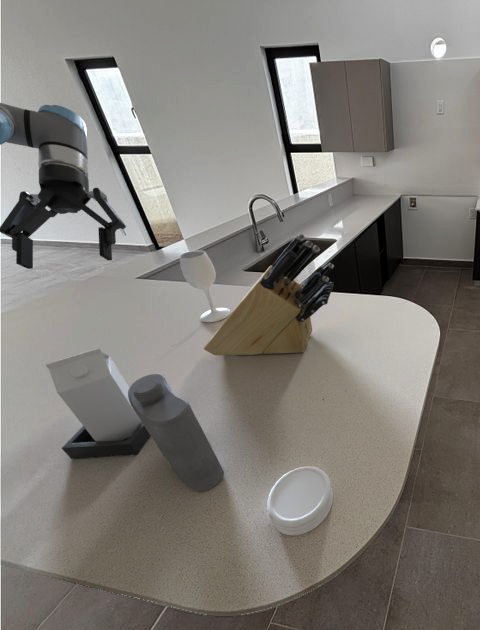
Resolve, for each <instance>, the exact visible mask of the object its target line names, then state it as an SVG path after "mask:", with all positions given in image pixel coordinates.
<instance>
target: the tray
mask: <svg viewBox="0 0 480 630" xmlns="http://www.w3.org/2000/svg"><path fill="white" fill-rule="evenodd" d="M151 438H152V437H151V436H150V434H149V433H148V431H147V429H146V428H145V426H144V425H143V423H141V424H140V425H139V426H138V428H137V429H136V430H135V431H134V433H133V434H132V435H131V436H130V437H129V438H126V439H124V440H119V441H103V442H96V441H95V440H94V439H93V437H92V436H91V435H90V434H89V432H88V431H87V430H86V429H85V427H84V426H83V425H82V427H80V428H79V429H78V431H76V433H74V434H73V436H72V437H70V439H69V440H67V442H66V443H64V445H63V446H62V447H61V450H63V452H64V453H65V454H66V455H67V457H69V459H70V460H79V459H93V458H94V459H95V458H110V457H129V456H138V455H139V453H140V452H141V451H142V449H143V448H144V447H145V445H146V444H147V442H149V440H150V439H151Z"/></svg>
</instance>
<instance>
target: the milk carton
mask: <svg viewBox="0 0 480 630" xmlns="http://www.w3.org/2000/svg"><path fill="white" fill-rule="evenodd" d="M45 366H46V368H47V369H48V370H49V374H50V377H51V379H52V382H53V386H54V388H55V391H56V393H57V394H58V395H59V397H60V398H61V399H62V401H63V402H64V403H65V405H66V406H67V407H68V408H69V410H70V411H71V412H72V413H73V415H74V416H75V418H76V419H77V420H78V421H79V422H80V424H81V425H82V427H83V426H84V427H85V429H86V430H87V431H88V432H89V434H90V435H91V436H92V437H93V439H94V440H95V441H96V442H103V441H119V440H124V439H126V438H129V437H130V436H131V435H132V434H133V433H134V431H135V430H136V429H137V428H138V426H139V425H140V424H141V423H142V422H141V420H140V419H139V417H138V416H137V414H136V412H135V411H134V409H133V408H132V406H131V404H130V402H129V398H128V390H129V388H130V386H129V385H128V383H127V382H126V380H125V378H124V376H123V375H122V373H121V372H120V370H119V369H118V367H117V365H116V364H115V362H114V361H113V359H112V357H111V356H110V355H108V354H106V353H104V352H103V351H102V349H101V348H100V347H97V348H94V349H91V350H87V351H83V352H81V353H78V354H75V355H71V356H67V357H64V358H61V359H58V360H57V359H56V360H53V361H51V362H48V363H45Z"/></svg>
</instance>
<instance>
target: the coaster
mask: <svg viewBox="0 0 480 630" xmlns="http://www.w3.org/2000/svg"><path fill="white" fill-rule="evenodd" d="M333 502H334V492H333V486H332V483H331V479H330V477H329V476H328V474H327V473H326V472H325V471H324V470H322V469H321V468H319V467H316V466H313V465H312V466H311V465H307V466H305V465H304V466H300V467H296V468H294V469H292V470H290V471H288V472H286V473H285V474H283V475H282V476H281V477H280V478H279V479H278V480H277V481H275V483H274V485H273V486H272V488H271V490H270V492H269V495H268V498H267V503H266V508H267V514H268V517H269V518H270V520H271V523H272V525H273V527H274V528H275V529H276V530H277V531H278V532H279V533H281V534H284V535H287V536H292V537H293V536H301V535H305V534H307V533H309V532H311V531H313V530H315V529H316V528H317V527H318V526H319V525H321V524H322V522H324V521H325V519H326V518H327V517H328V515H329V513H330V511H331V509H332V506H333Z"/></svg>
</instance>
